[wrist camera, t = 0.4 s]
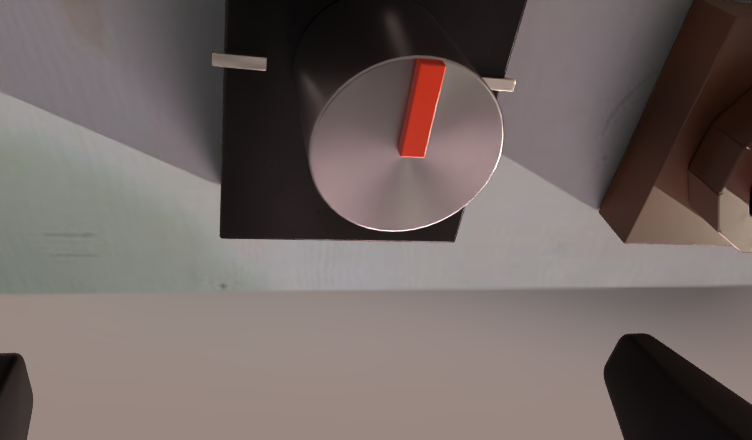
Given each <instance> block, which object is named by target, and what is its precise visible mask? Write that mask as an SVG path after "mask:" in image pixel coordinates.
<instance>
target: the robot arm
mask: <svg viewBox="0 0 752 440" xmlns="http://www.w3.org/2000/svg"><path fill="white" fill-rule="evenodd" d="M604 380H605V384H606V387H607V390H608V393H609V395H610V399H611V402H612V405H613V407H614V411H615V413H616V417H617V419H618V422H619V425H620V429H621V432H622V435H623V437H624V440H752V404H750V403H749V402H747V401H746V400H744V399H743V398H741V397H740V396H738V395H737V394H735V393H734V392H733V391H731V390H730V389H728V388H727V387H725V386H724V385H722V384H721V383H720V382H718V381H717V380H715V379H714V378H712V377H711V376H709V375H708V374H706V373H705V372H704V371H702V370H701V369H699V368H698V367H696V366H695V365H693V364H692V363H690V362H689V361H688V360H686V359H684V358H683V357H682V356H680V355H679V354H677V353H676V352H674V351H673V350H672V349H670V348H669V347H667V346H666V345H664V344H663V343H661V342H660V341H658V340H657V339H655V338H654V337H652V336H651V335H649V334H644V333H643V334H642V333H641V334H640V333H638V334H626V335H624V336H622V337H621V338H620V339H619V341H618V343H617V345H616V346H615V348H614V350H613V352H612V354H611V355H610V357H609V359H608V361H607V363H606V365H605V367H604ZM32 407H33V393H32V389H31V385H30V381H29V377H28V373H27V369H26V365H25V362H24V359H23V357H22V356H21V355H20V354H18V353H0V440H27V435H28V429H29V424H30V419H31V414H32Z"/></svg>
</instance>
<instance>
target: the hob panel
mask: <svg viewBox="0 0 752 440" xmlns="http://www.w3.org/2000/svg"><path fill="white" fill-rule="evenodd" d="M338 1H340V0H225V37H224V52H217V51H212V66H217V67H224V79H223V121H222V162H221V204H220V237H221V238H226V239H283V240H339V241H395V242H451V243H453V242H455V239H456V236H457V233H458V229H459V226H460V223H461V219H462V216H463V213H464V209H465V207H463V208H462V209H461V210H459V211H458V212H456V213H455V214H453V215H451V216H450V217H448V218H446V219H444V220H442V221H440V222H438V223H435V224H432V225H430V226H427V227H423V228H419V229H415V230H409V231H397V232H388V231H378V230H373V229H368V228H365V227H362V226H359V225H356V224H354V223H352V222H350V221H348V220H346V219H345V218H343V217H342V216H340V215H339V214H337V213H336V212H335V211H334V210H333V209H331V208H330V207H329V206H328V204H327V203H326V202H325V201H324V200H323V199H322V197H321V195H320V194H319V192H318V191H317V189H316V187H315V184H314V182H313V180H312V176H311V173H310V169H309V163H308V158H307V153H306V148H305V142H304V137H303V132H302V126H301V121H300V116H299V110H298V105H297V100H296V94H295V89H294V82H293V63H294V57H295V53H296V50H297V47H298V44H299V42H300V40H301V38H302V36H303V34H304V32H305V31H306V29H307V28H308V26H309V25H310V24H311V23H312V21H313V20H314V19H315V18H316V17H317V16H318V15H319V14H320V13H321V12H323V11H324V10H325V9H326V8H328V7H329V6H331V5H332V4H334V3H336V2H338ZM413 1H414V2H416V3H418V4H419V5H421V6H422V7H423V8H425V9H426V10H427V11H428V12H429V13H430V14H431V15H432V16H433V17H434V19H435V20H436V21H437V22H438V24H439V25H440V26H441V27H442V29H443V30H444V31H445V32H446V34H447V35H448V36H449V37H450V39H451V40H452V41H453V42H454V44H455V45H456V46H457V47H458V49H459V50H460V51H461V52H462V54H463V55H464V56H465V57H466V59H467V60H468V61H469V62H470V64H471V65H472V66H473V67H474V68H475V70H476V71H477V72H478V73H479V75H480V76H481V77H482V78H483V80H484V81H485V82H486V83H487V85H488V86H489V87H490V89H491V90H492V91H493V93H494V95H495V97H496V99H498V96H499V93H500V91H512V92H513V89H514V86H515V83H516V80H515V79H514V78H504V76H505V73H506V69H507V66H508V63H509V59H510V56H511V53H512V49H513V46H514V43H515V39H516V36H517V33H518V29H519V26H520V23H521V19H522V16H523V13H524V9H525V6H526V3H527V0H413Z"/></svg>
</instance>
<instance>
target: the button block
mask: <svg viewBox="0 0 752 440" xmlns="http://www.w3.org/2000/svg"><path fill="white" fill-rule="evenodd" d="M599 213H600V215H601V216H602V217H603V218H604V220H605V221H606V222H607V223H608V224H609V226H610V227H611V228H612V229H613V231H614V232H615V233H616V234H617V235H618V237H619V238H620V239H621V240H622V241H623V243H625V244H677V245H730V246H734V247H735V248H736V249H737V250H738V251H740V252H746V253H752V5H751V4H744V3H736V2H729V1H722V0H694V2H693V4H692V6H691V8H690V11H689V13H688V15H687V17H686V19H685V22H684V24H683V26H682V28H681V31H680V33H679V35H678V37H677V39H676V42H675V44H674V46H673V48H672V50H671V53H670V55H669V57H668V59H667V61H666V64H665V66H664V68H663V70H662V72H661V75H660V77H659V79H658V81H657V84H656V86H655V88H654V90H653V92H652V95H651V97H650V99H649V101H648V103H647V106H646V108H645V110H644V112H643V114H642V117H641V119H640V121H639V123H638V125H637V128H636V130H635V132H634V134H633V137H632V139H631V141H630V143H629V145H628V148H627V150H626V152H625V154H624V156H623V159H622V161H621V163H620V165H619V167H618V170H617V172H616V174H615V176H614V178H613V181H612V183H611V185H610V187H609V190H608V192H607V194H606V196H605V198H604V201H603V203H602V205H601V207H600V209H599Z"/></svg>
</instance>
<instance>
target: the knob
mask: <svg viewBox="0 0 752 440" xmlns="http://www.w3.org/2000/svg"><path fill="white" fill-rule="evenodd" d="M293 82H294V89H295V94H296V100H297V105H298V110H299V116H300V121H301V126H302V132H303V137H304V142H305V148H306V153H307V158H308V163H309V169H310V173H311V176H312V180H313V182H314V184H315V187H316V189H317V191H318V192H319V194H320V195H321V197H322V199H323V200H324V201H325V202H326V203H327V204H328V206H329V207H330V208H331V209H333V210H334V211H335V212H336V213H337V214H339V215H340V216H342V217H343V218H345V219H346V220H348V221H350V222H352V223H354V224H356V225H359V226H362V227H365V228H368V229H373V230H378V231H388V232H397V231H409V230H415V229H419V228H423V227H427V226H430V225H432V224H435V223H438V222H440V221H442V220H444V219H446V218H448V217H450V216H451V215H453V214H455V213H456V212H458V211H459V210H461V209H462V208H463V207H465V206H466V205H467V204H468V203H469V202H471V201H472V200H473V199H474V198H475V197H476V196H477V195H478V194H479V192H480V191H481V190H482V189H483V188H484V186H485V185H486V184H487V182H488V181H489V179H490V178H491V176H492V174H493V172H494V170H495V168H496V166H497V163H498V161H499V158H500V155H501V151H502V147H503V138H504V123H503V117H502V112H501V109H500V106H499V103H498V101H497V99H496V97H495V95H494V93H493V91H492V90H491V89H490V87H489V86H488V85H487V83H486V82H485V81H484V80H483V78H482V77H481V76H480V75H479V73H478V72H477V71H476V70H475V68H474V67H473V66H472V65H471V64H470V62H469V61H468V60H467V59H466V57H465V56H464V55H463V54H462V52H461V51H460V50H459V49H458V47H457V46H456V45H455V44H454V42H453V41H452V40H451V39H450V37H449V36H448V35H447V34H446V32H445V31H444V30H443V29H442V27H441V26H440V25H439V24H438V22H437V21H436V20H435V19H434V17H433V16H432V15H431V14H430V13H429V12H428V11H427V10H426V9H425V8H423V7H422V6H421V5H419V4H418V3H416V2H414V1H413V0H340V1H338V2H336V3H334V4H332V5H331V6H329V7H328V8H326V9H325V10H324V11H323V12H321V13H320V14H319V15H318V16H317V17H316V18H315V19H314V20H313V21H312V23H311V24H310V25H309V26H308V28H307V29H306V31H305V32H304V34H303V36H302V38H301V40H300V42H299V44H298V47H297V50H296V53H295V57H294V63H293Z"/></svg>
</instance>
